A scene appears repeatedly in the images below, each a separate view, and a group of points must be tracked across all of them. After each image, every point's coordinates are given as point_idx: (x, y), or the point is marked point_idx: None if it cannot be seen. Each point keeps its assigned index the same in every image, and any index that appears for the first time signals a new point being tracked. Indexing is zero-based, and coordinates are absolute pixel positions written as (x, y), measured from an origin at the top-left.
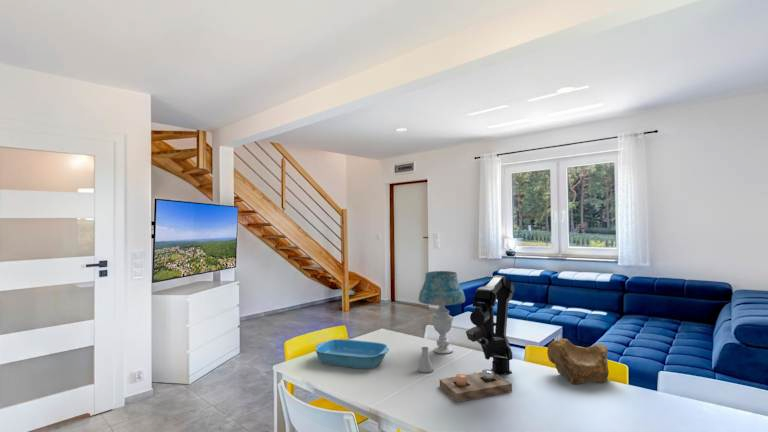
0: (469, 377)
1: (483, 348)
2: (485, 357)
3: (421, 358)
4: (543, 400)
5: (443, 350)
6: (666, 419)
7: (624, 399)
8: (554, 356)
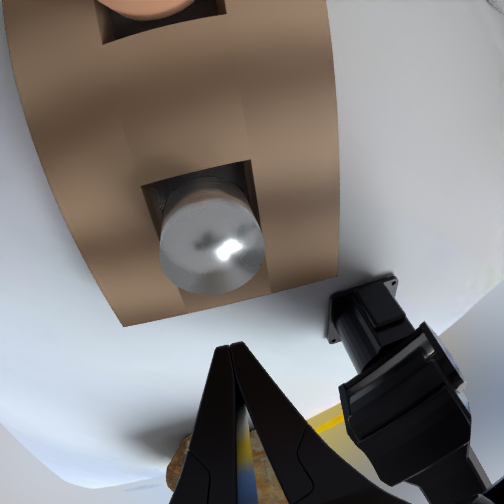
0: (273, 82)
1: (286, 470)
2: (245, 353)
3: None
4: (58, 360)
5: None
6: (44, 454)
7: (110, 456)
8: (273, 473)
